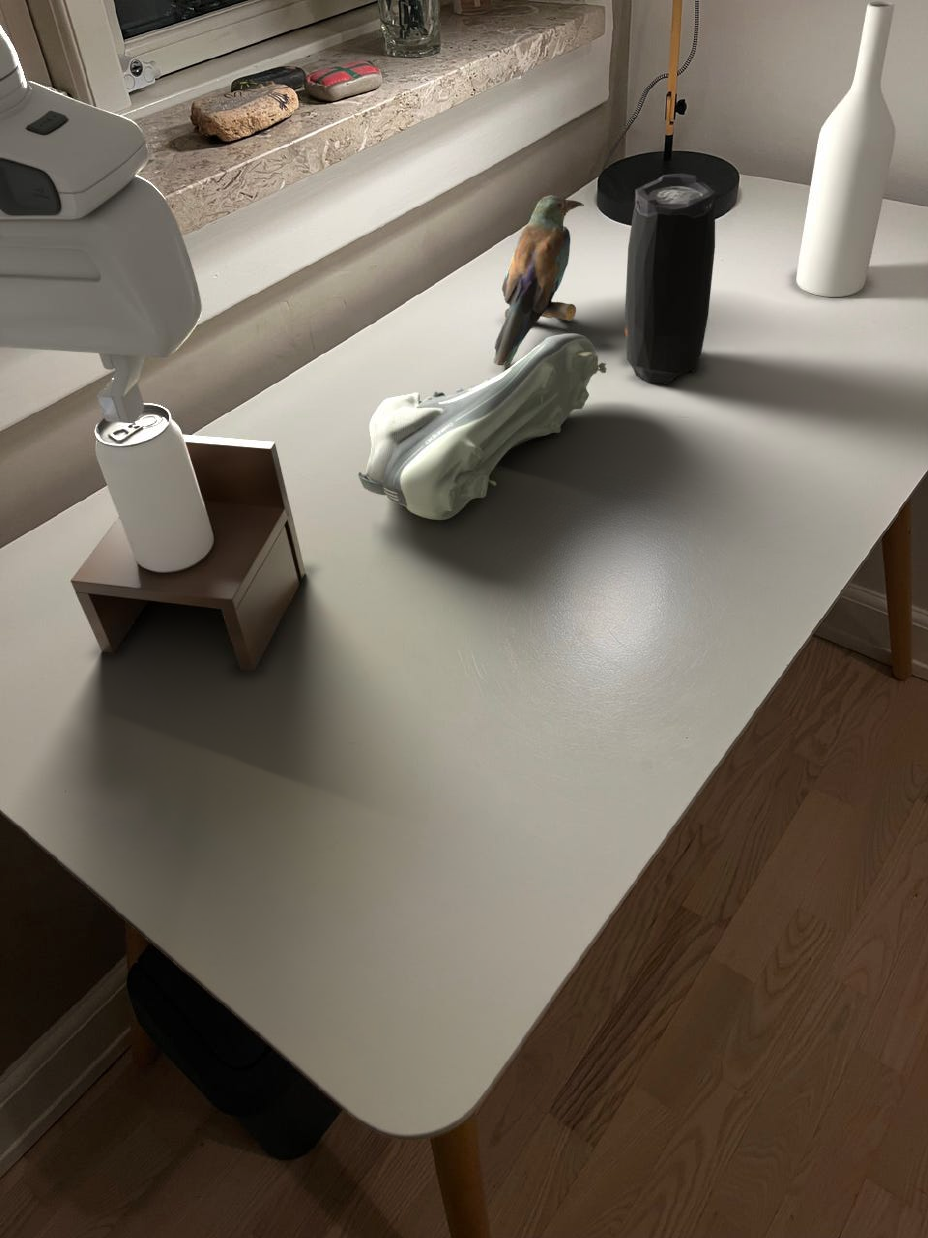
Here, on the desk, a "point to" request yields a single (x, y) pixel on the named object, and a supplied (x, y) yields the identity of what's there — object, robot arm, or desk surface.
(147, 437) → the can
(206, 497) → the wooden doll chair
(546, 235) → the bird figurine
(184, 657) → the desk surface
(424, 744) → the desk surface
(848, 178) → the bottle
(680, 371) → the portable speaker
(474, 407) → the baseball cleat
